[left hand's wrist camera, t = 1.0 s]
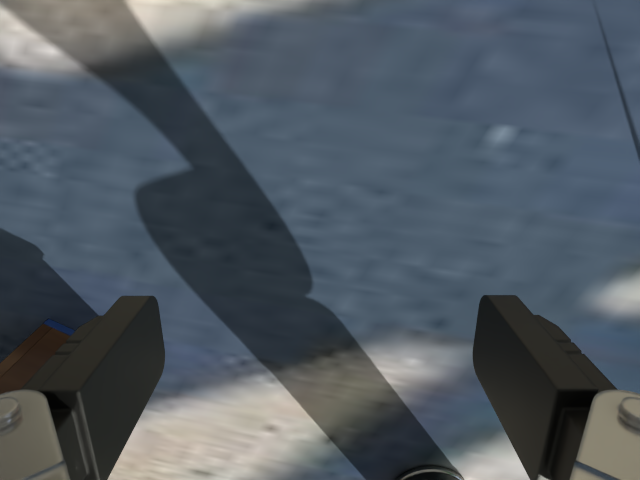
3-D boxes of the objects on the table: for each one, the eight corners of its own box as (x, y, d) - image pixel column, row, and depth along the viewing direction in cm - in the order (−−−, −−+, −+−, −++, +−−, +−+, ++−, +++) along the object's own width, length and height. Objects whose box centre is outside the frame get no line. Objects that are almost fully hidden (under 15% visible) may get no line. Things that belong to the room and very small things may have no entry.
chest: (48, 318, 44) (-30, 390, 34) (145, 362, 46) (98, 443, 36) (-4, 439, 49) (-85, 531, 39) (85, 474, 51) (29, 571, 41)
